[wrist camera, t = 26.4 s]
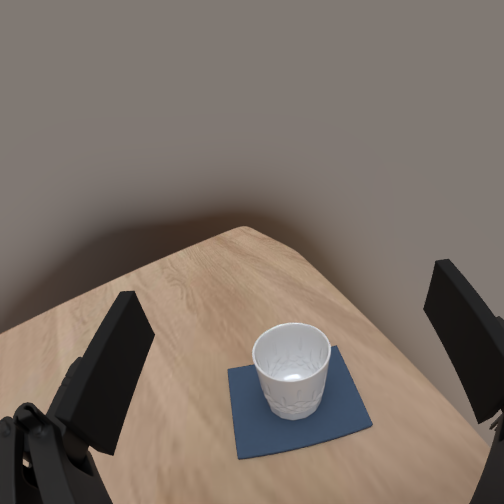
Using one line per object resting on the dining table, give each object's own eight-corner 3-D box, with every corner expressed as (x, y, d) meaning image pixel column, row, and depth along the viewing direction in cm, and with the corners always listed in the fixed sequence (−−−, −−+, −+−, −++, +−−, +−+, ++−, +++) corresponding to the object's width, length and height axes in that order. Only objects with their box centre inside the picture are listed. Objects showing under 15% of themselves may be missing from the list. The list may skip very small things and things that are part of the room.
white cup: (267, 429, 28) (256, 388, 23) (260, 379, 35) (248, 329, 30) (332, 416, 28) (340, 370, 23) (317, 368, 35) (319, 316, 30)
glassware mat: (336, 347, 38) (336, 345, 38) (371, 426, 26) (372, 424, 26) (228, 371, 38) (227, 368, 37) (238, 459, 26) (237, 458, 25)
